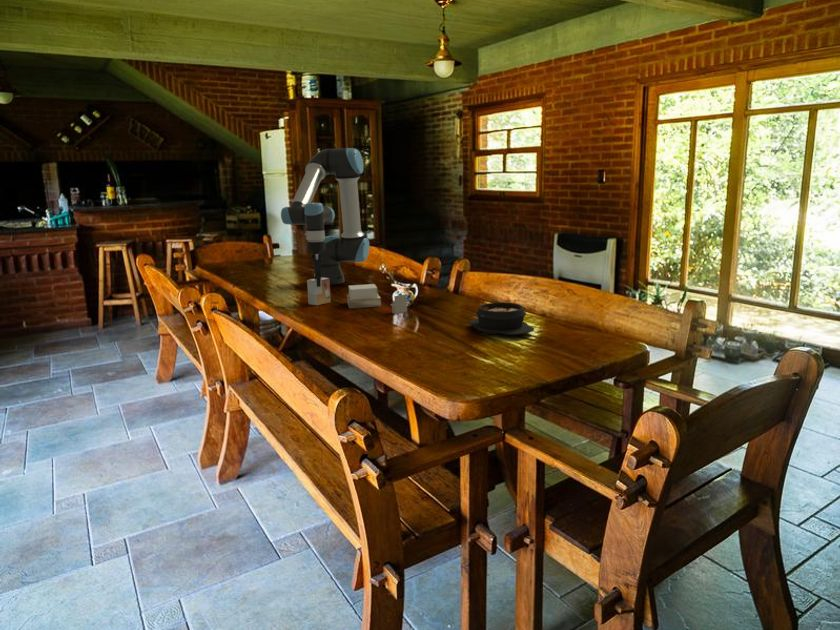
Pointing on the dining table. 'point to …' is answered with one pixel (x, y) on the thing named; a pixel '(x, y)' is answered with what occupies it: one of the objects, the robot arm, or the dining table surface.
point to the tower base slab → (363, 302)
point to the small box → (318, 298)
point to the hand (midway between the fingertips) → (318, 291)
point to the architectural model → (399, 304)
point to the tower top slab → (363, 291)
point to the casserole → (501, 319)
